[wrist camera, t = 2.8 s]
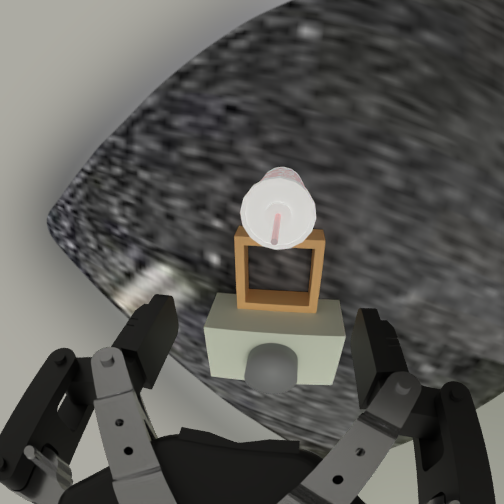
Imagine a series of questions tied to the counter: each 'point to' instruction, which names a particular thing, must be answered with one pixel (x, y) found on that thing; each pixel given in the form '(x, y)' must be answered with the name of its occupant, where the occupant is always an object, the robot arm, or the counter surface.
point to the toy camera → (275, 328)
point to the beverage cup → (278, 210)
